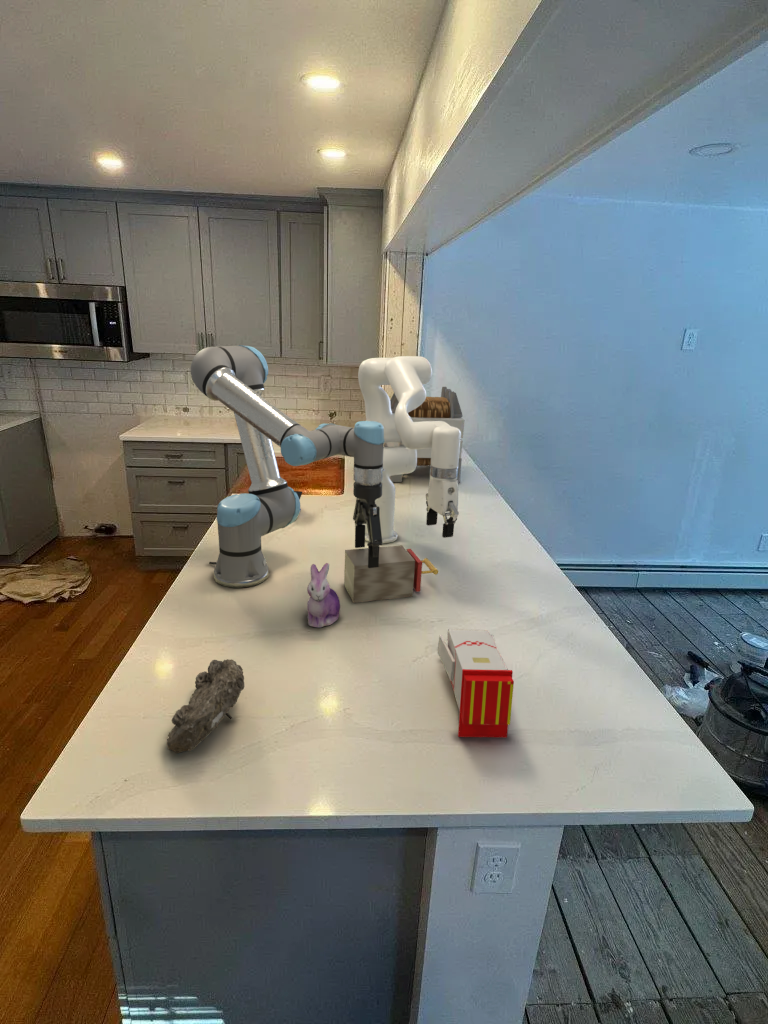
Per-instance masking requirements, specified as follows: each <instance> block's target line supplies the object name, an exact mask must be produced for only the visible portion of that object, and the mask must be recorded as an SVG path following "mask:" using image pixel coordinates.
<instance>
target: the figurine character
mask: <svg viewBox="0 0 768 1024" xmlns="http://www.w3.org/2000/svg"><path fill="white" fill-rule="evenodd" d="M294 492H296V493H297V495H298V497H299V500H301V497H302V495H303V491H302V490H301V491H299V490H294ZM300 511H302V509H301V508H300Z"/></svg>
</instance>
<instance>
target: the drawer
mask: <svg viewBox="0 0 768 1024" xmlns="http://www.w3.org/2000/svg"><path fill="white" fill-rule="evenodd" d="M406 550H407V552H408V553H409V554H410V555H411V556H412V558H413V559H414V560H415V568H414V583H413V590H414V591H415V592H416V593H418V592H421V586H422V585H421V584H422V575H425V574H433V575H438V574H439V569H438V568H437V567H436V566H435V565H434V564H433V563H432V562H431V561H430V559H429V558H427V557H424V558H423V559H422V560H421V559H420V558H419V556H418V555H417V554H416V553H415V552H414V551H413V550H412V548H406ZM423 564H425V566H426V567H427V568H428V569H429V570H423Z"/></svg>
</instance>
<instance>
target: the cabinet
mask: <svg viewBox="0 0 768 1024" xmlns="http://www.w3.org/2000/svg"><path fill="white" fill-rule="evenodd" d="M414 568H415V560H414V559H413V558H412V556H411V555H410V554H409V553H408V552H407V548H405V546H404V545H402V544H401V545H390V546H379V567H375V568H368V547H362V548H352V549H344V570H343V571H344V574H343V575H344V576H343V577H344V579H343V585H344V587H345V590H346V591H347V594H348V595H349V597H350V599H351V601H352V603H353V604H357V603H365V602H376V601H385V600H393V599H401V598H402V599H403V598H411V597H413V596H414V588H413V583H414Z"/></svg>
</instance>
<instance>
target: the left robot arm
mask: <svg viewBox="0 0 768 1024" xmlns="http://www.w3.org/2000/svg"><path fill="white" fill-rule="evenodd" d="M268 375H269V367H268V362H267V360H266V358H265V356H264V355H263V354H262V352H261V351H260V350H258V349H256V347H254V346H250V345H243V344H239V345H224V346H207V347H204V348H202V349H200V350H199V351H198V352H197V353H196V354H195V355H194V356H193V358H192V360H191V363H190V376H191V379H192V382H193V384H194V386H195V387H196V388H197V389H198V390H199V391H200V392H201V394H203V395H204V396H206V397H207V398H208V399H209V400H210V401H214V402H218V401H219V402H220V403H221V404H222V405H223V406H225V407H227V408H228V409H229V410H230V411H232V412H233V415H234V418H235V422H236V426H237V430H238V434H239V435H238V436H239V439H240V442H241V446H242V450H243V455H244V459H245V462H246V466H247V471H248V475H249V479H250V482H251V483H250V486H249V487H248V489H247V493H246V492H244V493H239V494H237V493H235V494H232V495H229V496H227V497H225V498H223V499H221V500H220V502H219V503H218V505H217V508H216V510H217V511H216V512H217V514H216V522H217V534H218V549H219V550H218V551H219V553H218V556H217V560H216V561H209V562H208V564H209V565H215V566H214V570H213V577H214V578H213V579H214V580H215V582H216V583H217V584H218V585H220V586H223V587H227V588H237V589H239V588H248V587H253V586H256V585H259V584H261V583H263V582H265V581H266V580H267V579H268V578H269V573H270V572H269V571H270V570H269V566H268V563H267V558H266V557H265V556H264V552H263V550H262V537H263V536H266V535H268V534H271V533H274V532H276V531H277V530H280V529H284V528H287V527H288V526H289V525H291V524H293V523H295V521H296V520H297V519H298V517H299V515H300V512H301V510H300V509H301V501H300V500H301V499H300V500H299V497H298V495H297V493H296V492H294V491H295V489H293V488H292V487H290V486H289V485H288V481H287V480H286V479H284V478H283V477H282V476H281V474H280V470H279V467H278V466H279V465H278V461H277V457H276V454H275V449H274V444H275V445H277V446H278V447H280V454H281V457H283V459H284V461H285V463H286V464H288V465H290V466H292V467H301V466H306V465H310V464H312V463H314V462H315V463H316V462H317V461H318V462H319V461H322V460H325V459H328V458H331V457H335V456H345V457H348V458H349V457H350V458H353V481H354V482H353V496H354V498H355V505H354V510H353V515H352V516H353V517H352V520H353V521H354V549H362V548H366V546H367V548H368V568H375V567H379V547H380V546H383V543H382V535H381V525H380V508H379V507H377V505H376V504H375V500H376V499H378V498H380V497H381V496H382V483H381V481H382V477H383V472H384V471H385V470H384V469H383V449H384V427H383V425H382V424H381V423H379V422H375V421H366V420H360V421H357V422H355V424H354V427H351V426H345V425H339V424H335V423H321V424H319V425H318V427H316V428H315V429H314V430H308V428H305V427H304V426H303V425H301V424H300V423H299V422H297V421H296V420H294V419H293V418H292V417H290V416H289V415H288V414H287V413H285V412H283V411H282V410H281V409H279V408H278V407H277V406H275V405H274V404H272V403H271V402H270V401H268V400H267V399H266V398H265V397H263V394H264V392H265V391H266V390H265V386H264V384H265V383H266V381H267V380H268ZM373 515H374V516H373ZM362 524H367V529H368V535H369V541H370V542H367V545H366V540H365V525H362ZM375 540H377V541H375Z"/></svg>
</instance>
